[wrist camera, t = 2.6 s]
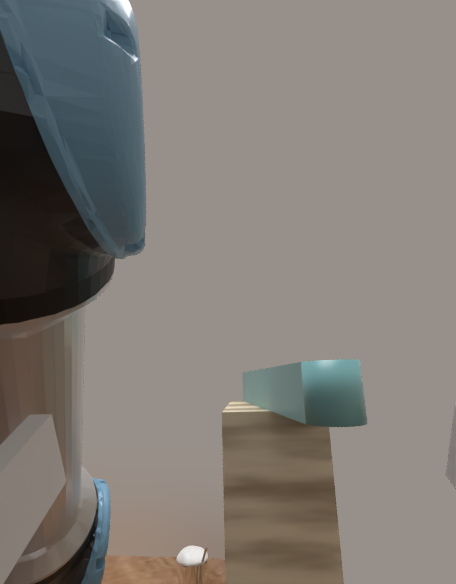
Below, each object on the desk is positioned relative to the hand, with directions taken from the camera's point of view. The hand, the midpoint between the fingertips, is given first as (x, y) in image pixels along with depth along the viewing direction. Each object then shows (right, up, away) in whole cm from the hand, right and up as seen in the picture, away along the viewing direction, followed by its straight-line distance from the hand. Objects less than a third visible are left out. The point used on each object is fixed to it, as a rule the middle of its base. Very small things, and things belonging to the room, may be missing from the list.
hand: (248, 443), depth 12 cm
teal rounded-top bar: (+5, -7, +25) cm, 27 cm away
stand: (+5, -38, +23) cm, 44 cm away
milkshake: (-5, -42, +37) cm, 56 cm away
